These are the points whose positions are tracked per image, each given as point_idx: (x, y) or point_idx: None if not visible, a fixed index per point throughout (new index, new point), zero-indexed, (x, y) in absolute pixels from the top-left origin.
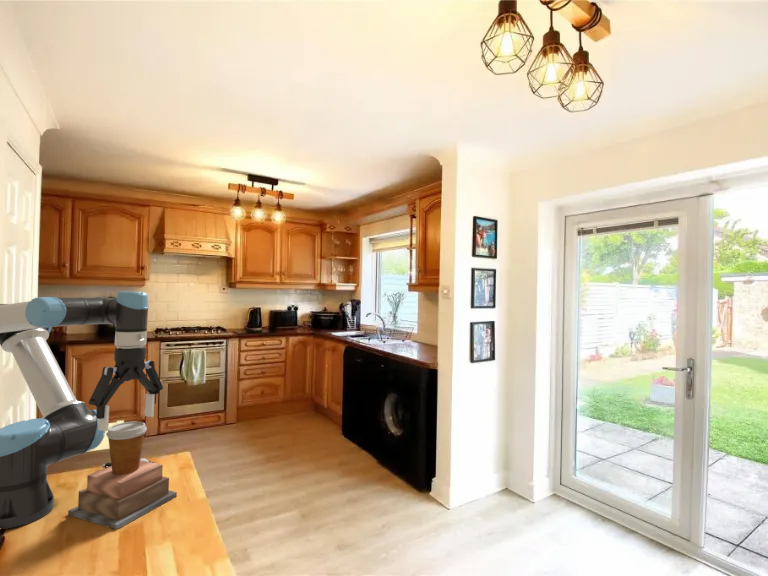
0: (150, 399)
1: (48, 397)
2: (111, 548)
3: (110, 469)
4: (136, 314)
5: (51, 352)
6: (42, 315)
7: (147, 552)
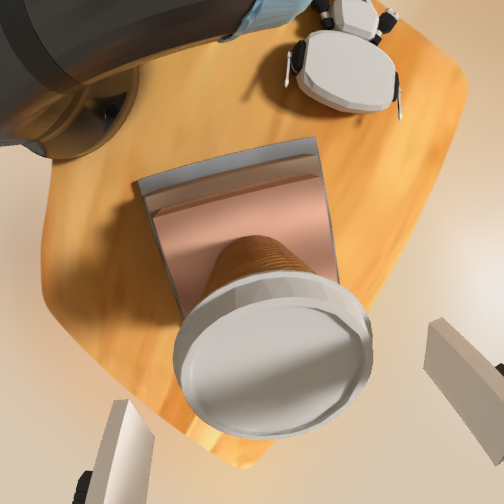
0: (483, 433)
1: None
2: (164, 372)
3: (223, 228)
4: None
5: None
6: None
7: None
